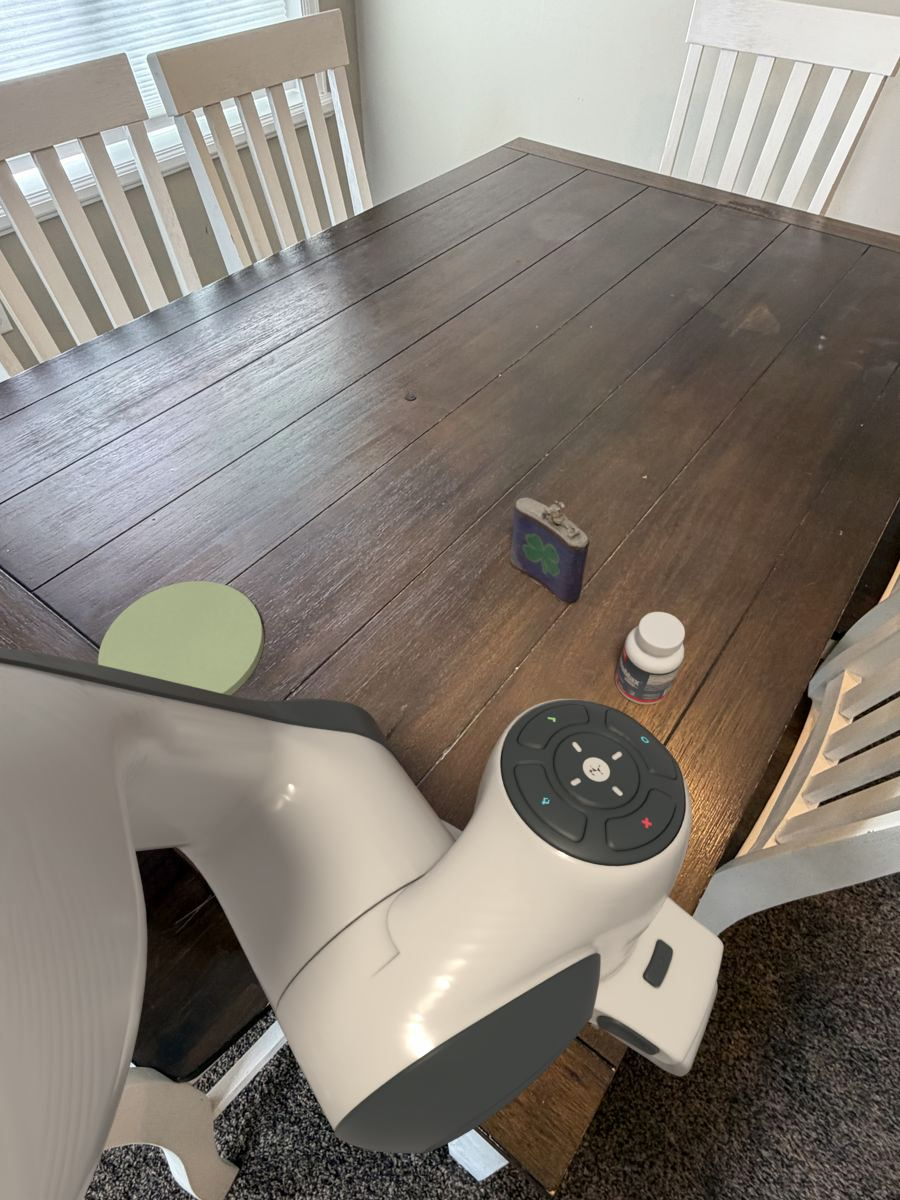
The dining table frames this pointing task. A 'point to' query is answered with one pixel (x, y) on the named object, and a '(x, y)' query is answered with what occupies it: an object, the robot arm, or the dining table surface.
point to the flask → (549, 548)
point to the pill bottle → (651, 658)
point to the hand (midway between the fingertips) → (528, 969)
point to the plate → (188, 636)
